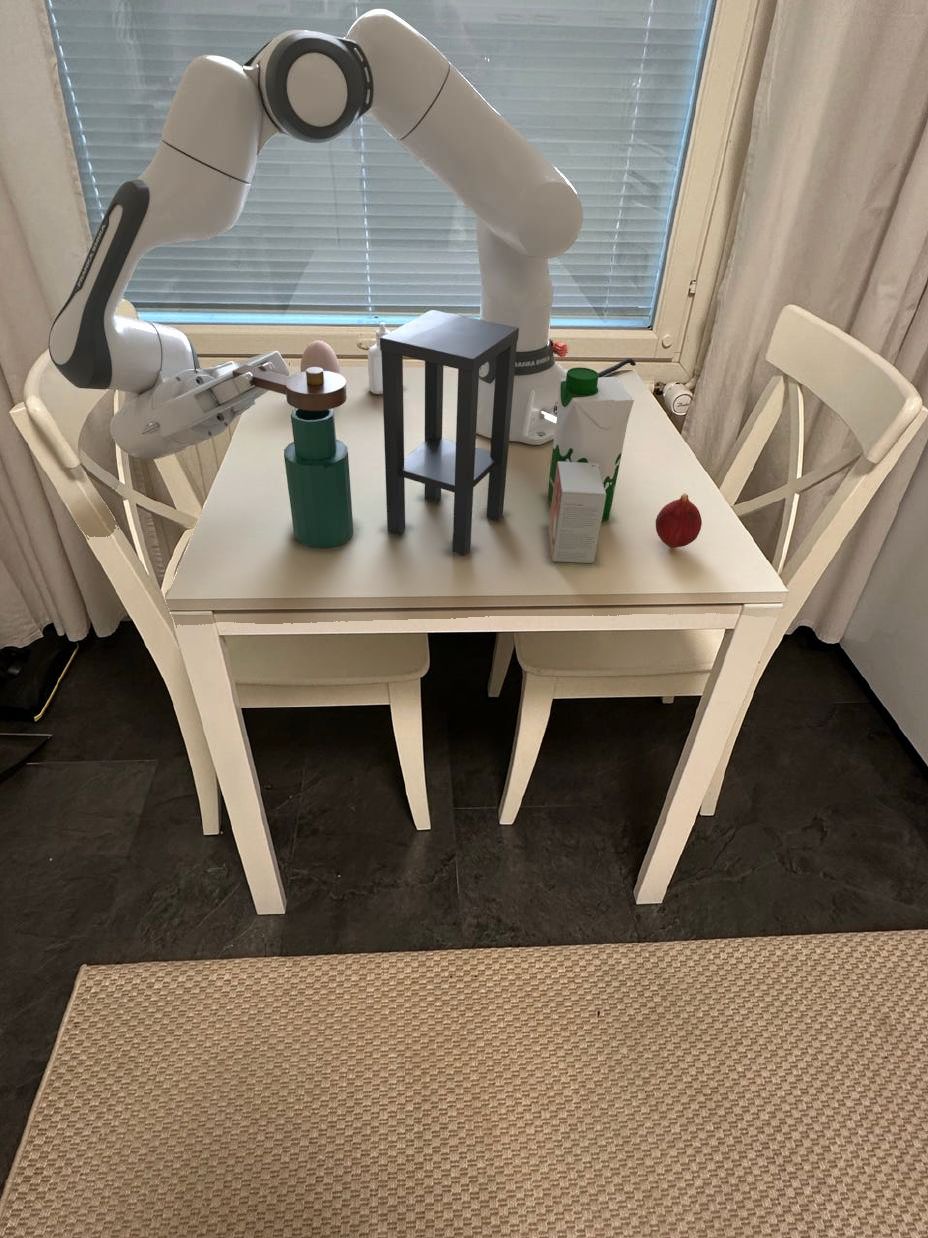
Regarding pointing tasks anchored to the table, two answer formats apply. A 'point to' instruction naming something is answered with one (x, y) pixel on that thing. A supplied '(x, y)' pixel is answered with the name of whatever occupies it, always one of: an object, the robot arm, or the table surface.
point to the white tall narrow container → (376, 362)
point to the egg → (320, 357)
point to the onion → (678, 522)
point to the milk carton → (591, 426)
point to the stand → (438, 458)
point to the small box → (576, 512)
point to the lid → (302, 387)
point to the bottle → (318, 480)
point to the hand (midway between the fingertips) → (260, 374)
